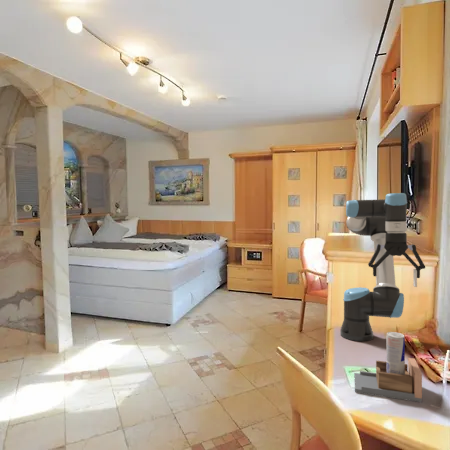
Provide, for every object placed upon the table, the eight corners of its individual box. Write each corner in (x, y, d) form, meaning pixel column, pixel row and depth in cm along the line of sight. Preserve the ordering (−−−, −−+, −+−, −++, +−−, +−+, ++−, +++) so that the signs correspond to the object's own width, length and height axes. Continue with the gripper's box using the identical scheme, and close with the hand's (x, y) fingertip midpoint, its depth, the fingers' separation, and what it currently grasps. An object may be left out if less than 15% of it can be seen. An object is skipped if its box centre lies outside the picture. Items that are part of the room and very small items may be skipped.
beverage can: (406, 382, 114) (406, 337, 113) (388, 380, 115) (388, 336, 114) (402, 374, 119) (401, 331, 119) (384, 372, 120) (384, 331, 120)
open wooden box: (376, 376, 124) (376, 360, 123) (406, 380, 120) (406, 364, 120) (378, 390, 114) (378, 372, 114) (412, 395, 111) (412, 377, 111)
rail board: (354, 376, 127) (354, 351, 127) (414, 384, 120) (414, 358, 120) (355, 392, 116) (355, 365, 115) (421, 402, 109) (421, 374, 109)
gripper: (362, 232, 136) (362, 285, 136) (434, 232, 127) (434, 289, 128) (361, 231, 143) (361, 281, 143) (429, 231, 134) (429, 285, 135)
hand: (395, 285), depth 136 cm, fingers open, 13 cm apart
